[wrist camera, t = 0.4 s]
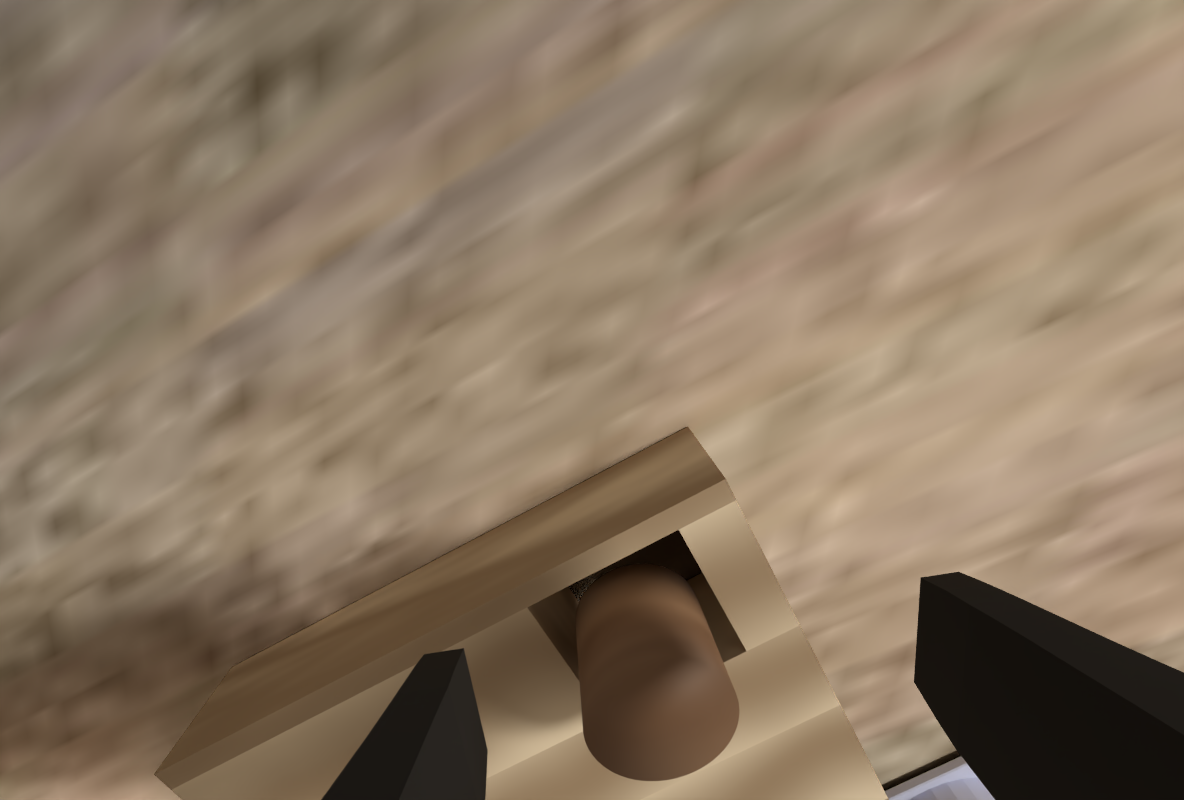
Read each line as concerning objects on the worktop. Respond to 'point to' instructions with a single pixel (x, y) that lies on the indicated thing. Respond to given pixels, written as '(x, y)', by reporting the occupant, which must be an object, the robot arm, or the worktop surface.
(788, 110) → the worktop surface
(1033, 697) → the robot arm
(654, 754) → the walnut peg
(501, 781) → the maple board
